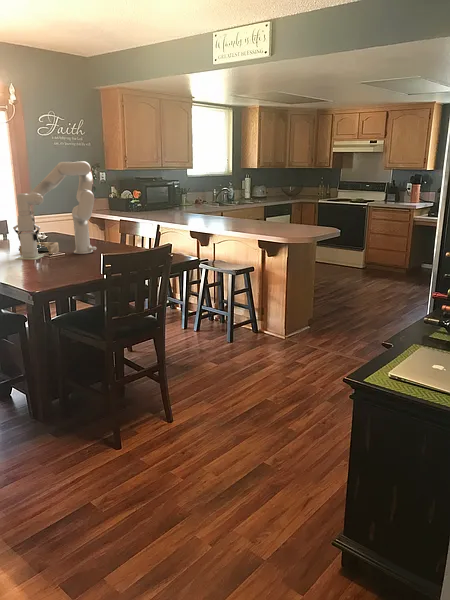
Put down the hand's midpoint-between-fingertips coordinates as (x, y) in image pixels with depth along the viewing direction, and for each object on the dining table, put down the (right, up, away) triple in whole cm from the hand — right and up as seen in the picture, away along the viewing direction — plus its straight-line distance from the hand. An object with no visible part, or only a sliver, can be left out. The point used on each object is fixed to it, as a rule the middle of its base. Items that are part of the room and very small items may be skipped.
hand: (28, 240), depth 319 cm
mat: (0, -11, +3) cm, 11 cm away
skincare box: (0, -11, +3) cm, 11 cm away
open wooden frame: (+1, -7, +18) cm, 19 cm away
